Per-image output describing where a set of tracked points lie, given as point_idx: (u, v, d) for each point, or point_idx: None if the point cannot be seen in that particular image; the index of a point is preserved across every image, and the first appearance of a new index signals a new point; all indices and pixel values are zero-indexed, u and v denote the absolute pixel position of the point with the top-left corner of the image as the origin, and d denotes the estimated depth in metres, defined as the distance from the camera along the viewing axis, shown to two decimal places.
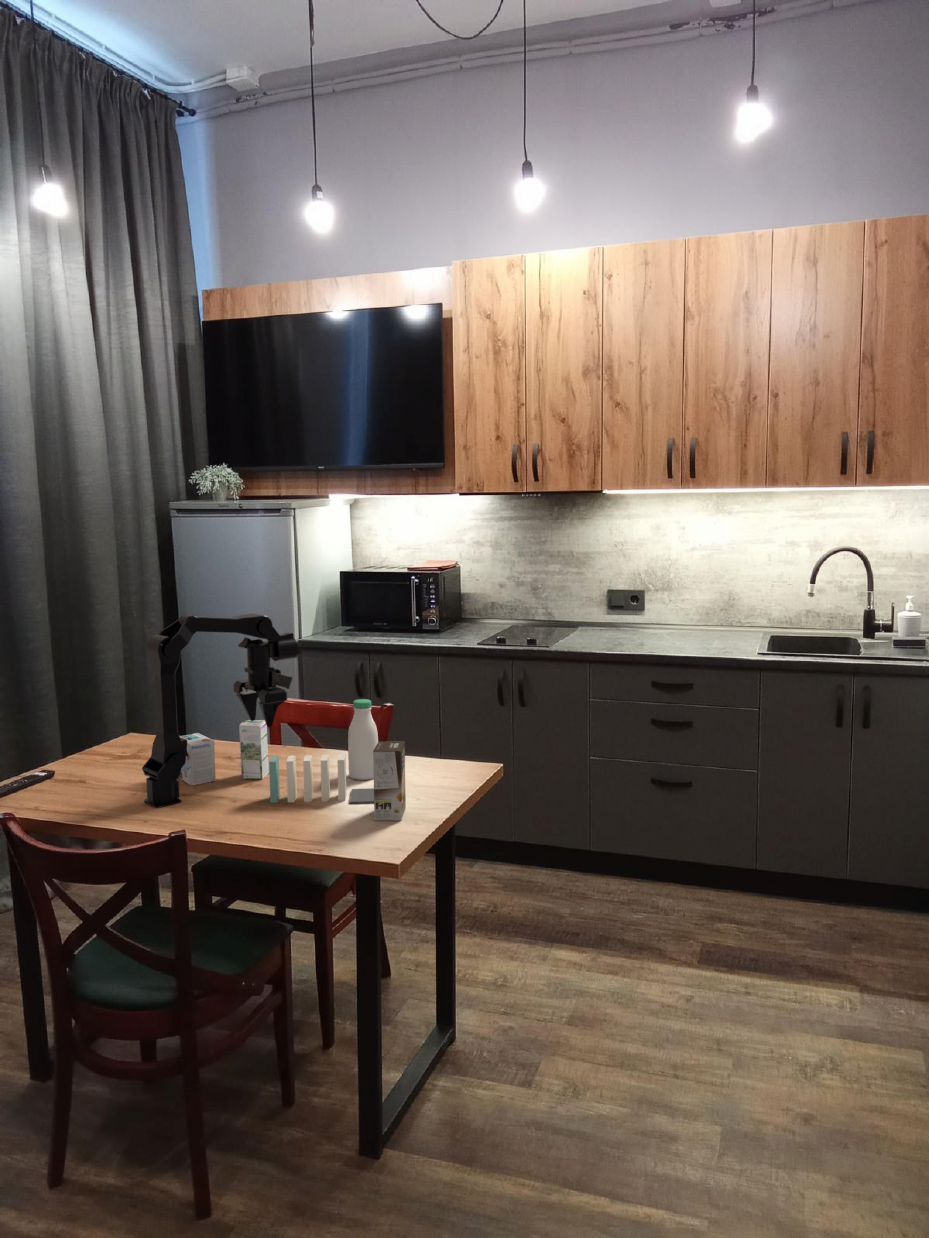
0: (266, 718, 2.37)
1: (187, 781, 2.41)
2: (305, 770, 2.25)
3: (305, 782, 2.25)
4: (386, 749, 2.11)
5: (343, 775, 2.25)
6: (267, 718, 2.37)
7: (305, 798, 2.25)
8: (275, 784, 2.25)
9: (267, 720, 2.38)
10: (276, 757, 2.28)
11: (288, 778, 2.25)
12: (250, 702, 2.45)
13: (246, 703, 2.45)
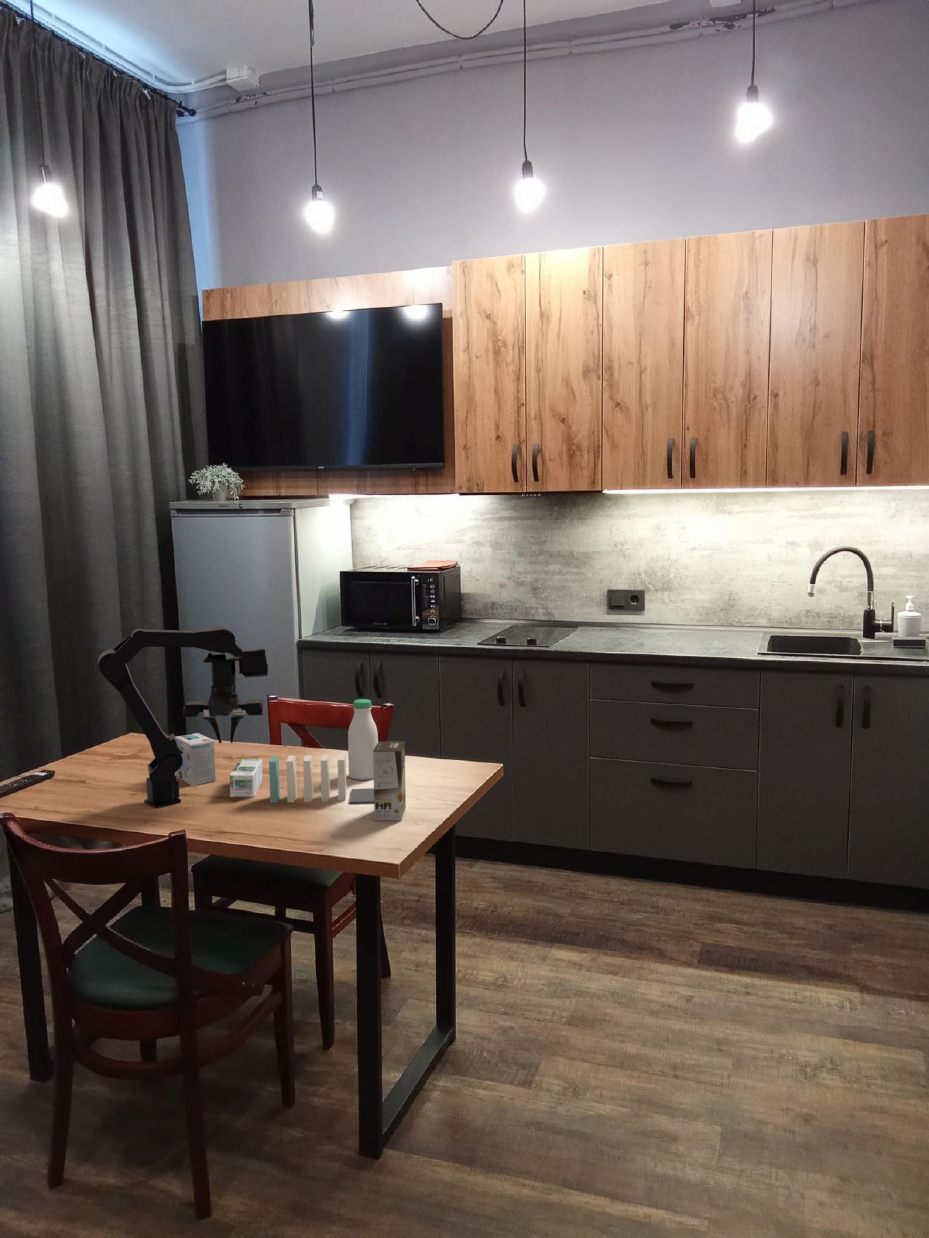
0: None
1: (187, 781, 2.41)
2: (305, 770, 2.25)
3: (305, 782, 2.25)
4: (386, 749, 2.11)
5: (343, 775, 2.25)
6: None
7: (305, 798, 2.25)
8: (275, 784, 2.25)
9: None
10: (276, 757, 2.28)
11: (288, 778, 2.25)
12: None
13: None
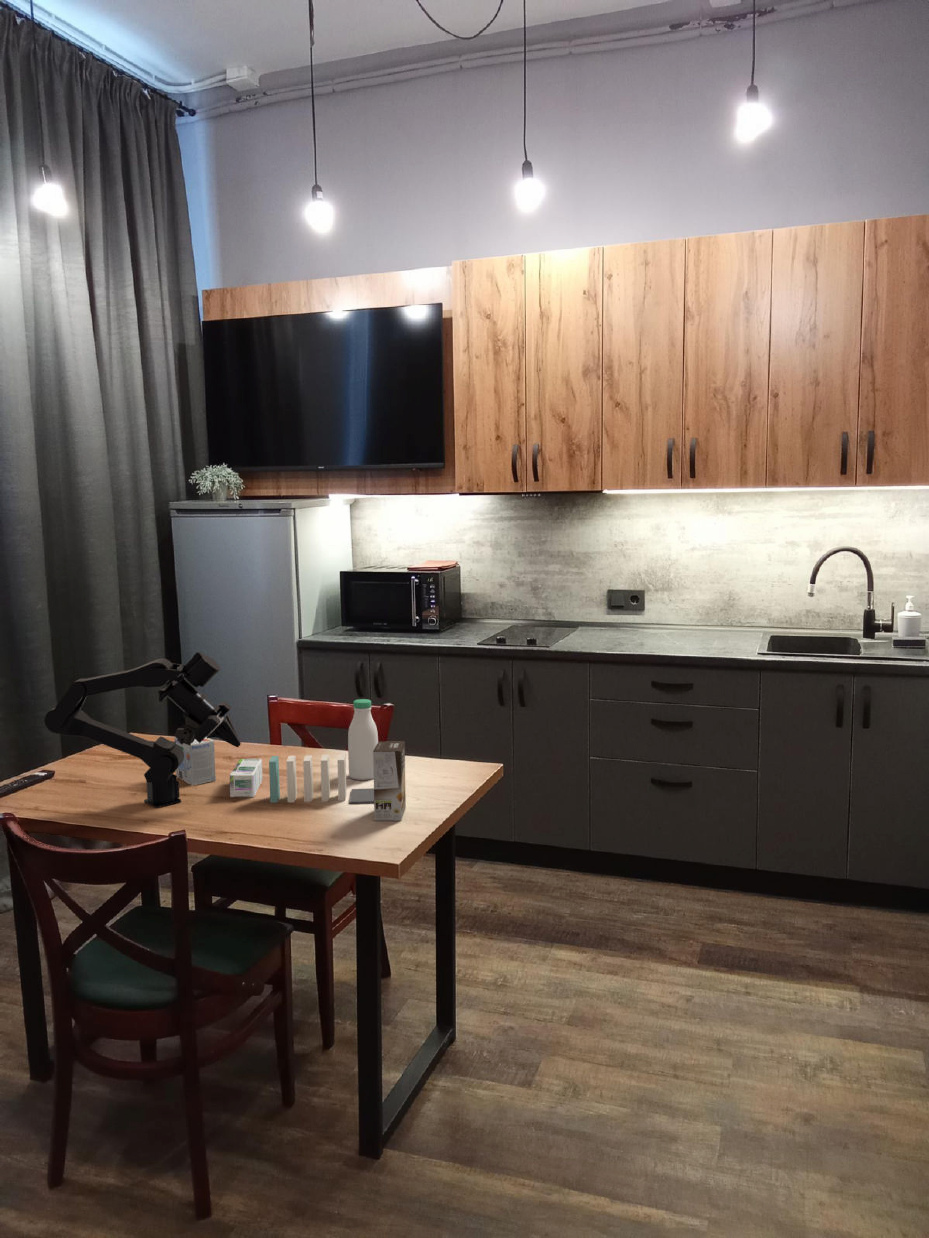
0: None
1: (187, 781, 2.41)
2: (305, 770, 2.25)
3: (305, 782, 2.25)
4: (386, 749, 2.11)
5: (343, 775, 2.25)
6: None
7: (305, 798, 2.25)
8: (275, 784, 2.25)
9: None
10: (276, 757, 2.28)
11: (288, 778, 2.25)
12: None
13: None
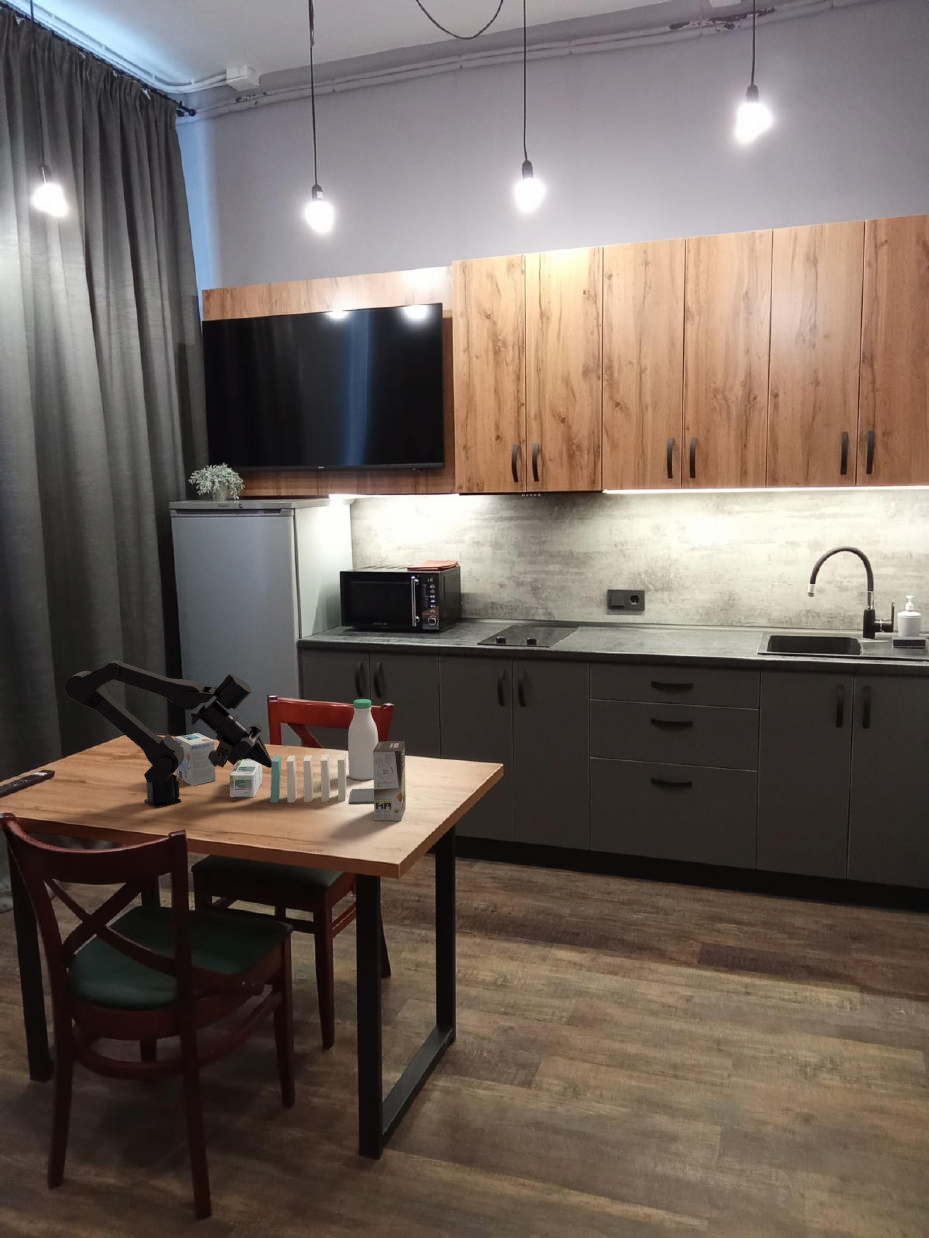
0: None
1: (187, 781, 2.41)
2: (305, 770, 2.25)
3: (305, 782, 2.25)
4: (386, 749, 2.11)
5: (343, 775, 2.25)
6: None
7: (305, 798, 2.25)
8: (276, 784, 2.25)
9: None
10: (279, 757, 2.28)
11: (288, 778, 2.25)
12: None
13: None
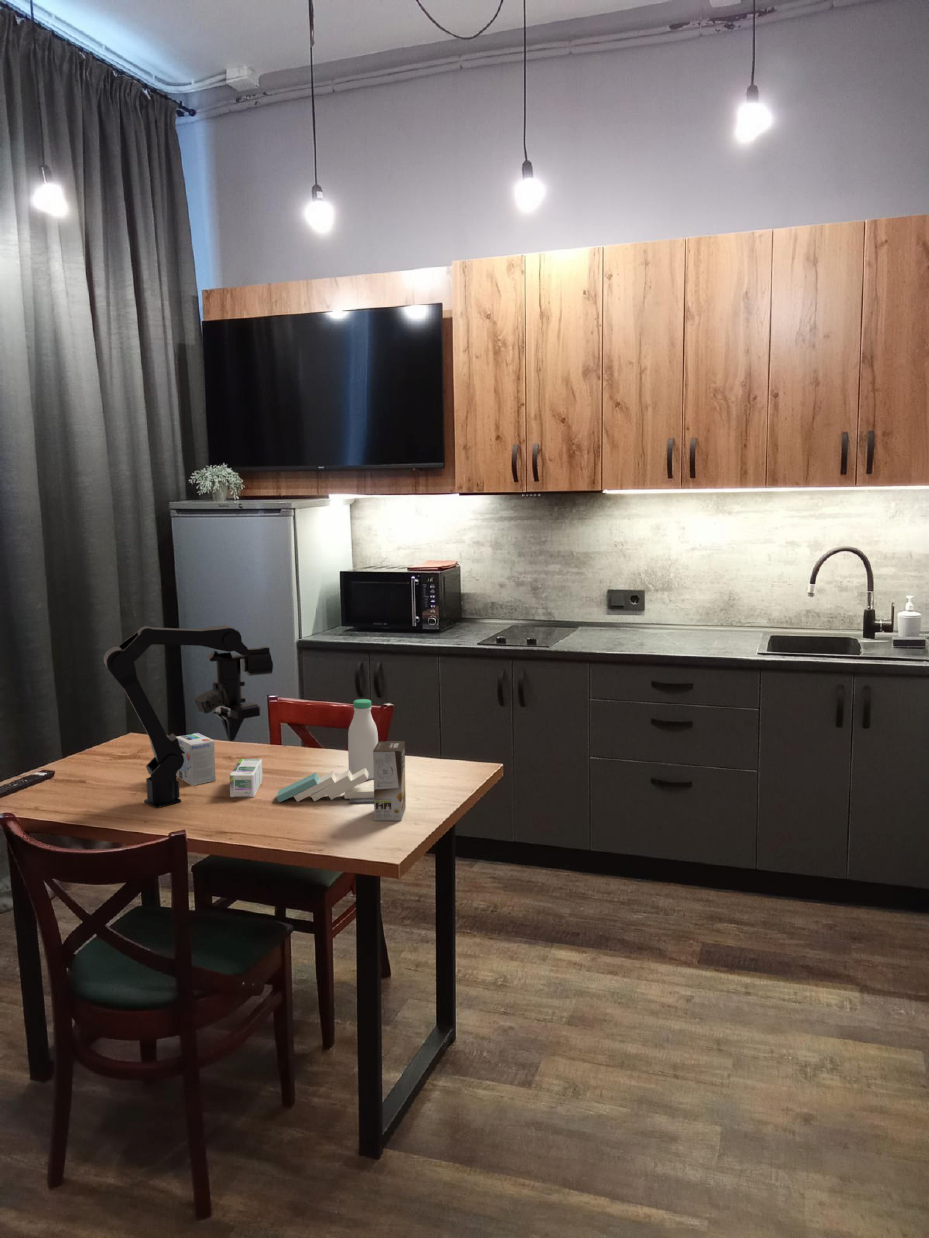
0: None
1: (187, 781, 2.41)
2: (340, 781, 2.25)
3: (329, 787, 2.25)
4: (386, 749, 2.11)
5: (370, 796, 2.26)
6: None
7: (314, 795, 2.25)
8: (295, 793, 2.25)
9: None
10: (318, 778, 2.29)
11: (316, 786, 2.25)
12: None
13: None
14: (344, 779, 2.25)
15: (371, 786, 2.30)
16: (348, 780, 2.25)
